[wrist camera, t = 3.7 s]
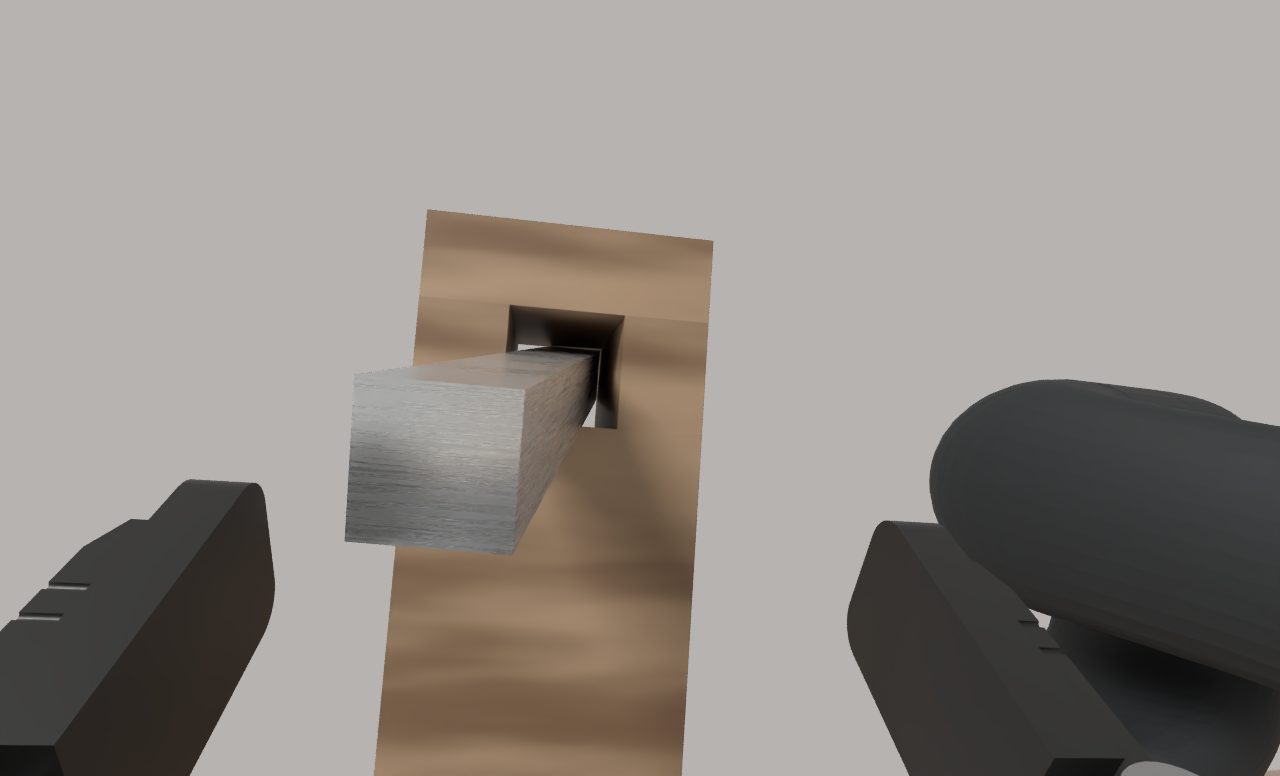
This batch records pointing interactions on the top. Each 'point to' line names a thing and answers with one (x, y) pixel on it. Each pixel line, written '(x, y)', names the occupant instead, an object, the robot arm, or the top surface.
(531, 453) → the pin
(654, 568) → the post
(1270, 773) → the top surface
